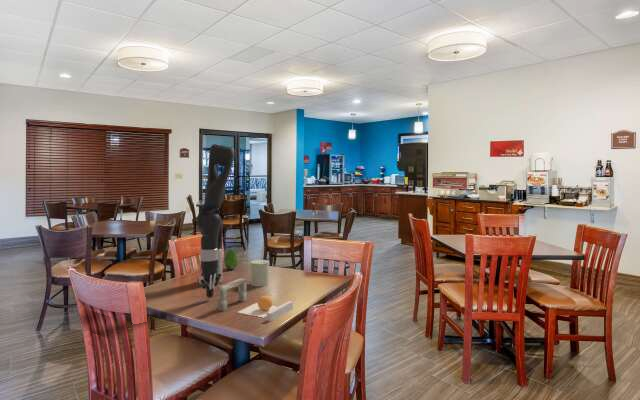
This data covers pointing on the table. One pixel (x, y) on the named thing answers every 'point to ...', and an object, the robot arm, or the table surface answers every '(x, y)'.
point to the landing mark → (255, 311)
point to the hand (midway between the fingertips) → (210, 297)
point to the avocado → (231, 259)
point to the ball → (265, 303)
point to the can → (260, 273)
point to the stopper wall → (279, 310)
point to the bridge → (223, 288)
